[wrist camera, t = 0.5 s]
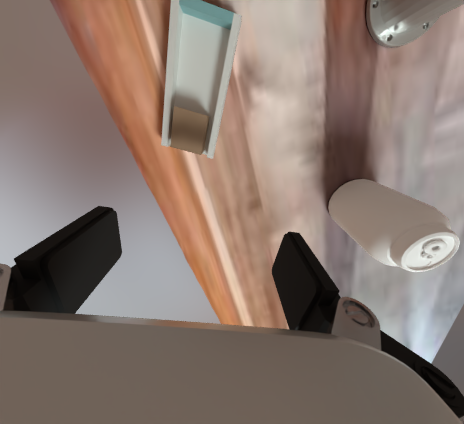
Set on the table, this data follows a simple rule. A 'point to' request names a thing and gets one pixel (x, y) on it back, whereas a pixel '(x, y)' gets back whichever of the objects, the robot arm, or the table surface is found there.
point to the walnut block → (189, 130)
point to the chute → (199, 64)
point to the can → (393, 226)
